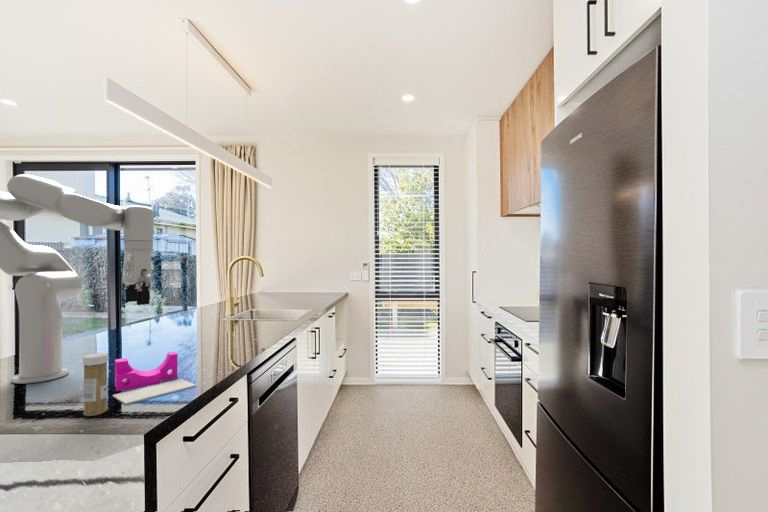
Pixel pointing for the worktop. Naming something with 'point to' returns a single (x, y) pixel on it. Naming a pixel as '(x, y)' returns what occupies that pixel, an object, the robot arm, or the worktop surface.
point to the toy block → (143, 373)
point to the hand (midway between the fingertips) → (137, 302)
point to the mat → (153, 391)
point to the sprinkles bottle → (95, 384)
